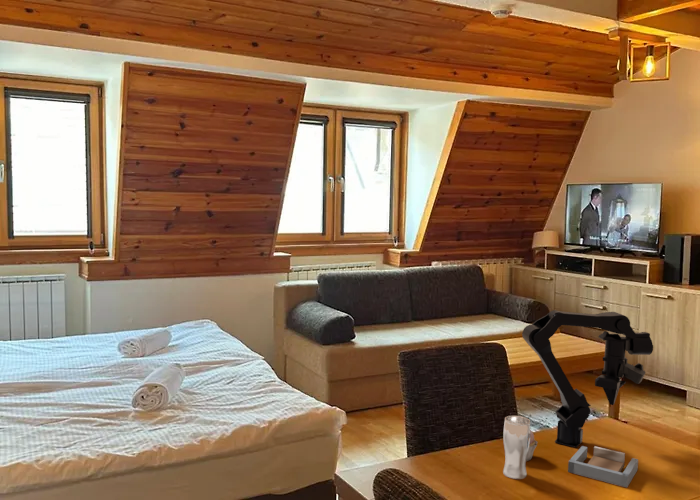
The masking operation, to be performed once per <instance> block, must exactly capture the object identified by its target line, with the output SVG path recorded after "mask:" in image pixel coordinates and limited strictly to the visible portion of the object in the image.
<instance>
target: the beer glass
mask: <svg viewBox="0 0 700 500" xmlns="http://www.w3.org/2000/svg"><path fill="white" fill-rule="evenodd" d="M503 424H504V425H503V433H502V434H503V435H502V437H503V440H502V441H503V448H504V456H505V458H504V459H505V461H504V466H503V470H502V473H503V475H504V476H505V477H507V478H510V479H512V480H523V479H525V478H527V476H528V475H527V474H528V473H527V465H526V462H527V461H526V457H527V453H528V449H529V444H530V430H531V420H530V419H529V418H527V417H525V416H520V415H508V416H505V417H504V423H503Z"/></svg>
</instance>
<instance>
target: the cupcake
mask: <svg viewBox="0 0 700 500" xmlns="http://www.w3.org/2000/svg"><path fill="white" fill-rule="evenodd" d="M537 446H538V441H537V440H536V439H535V434H534V433H533V431H532V430H531V429H530V444H529V449H528V453H527V457H526V462H528V461H531V459H532V458H533V455H534V451H535V449H536V447H537Z"/></svg>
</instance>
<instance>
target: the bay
mask: <svg viewBox="0 0 700 500" xmlns="http://www.w3.org/2000/svg"><path fill="white" fill-rule="evenodd" d="M587 458H588V446H584V445H581V446H580V448H579V449H578V450H577V451H576V452H575V453H574V454H573V456H572V457H571V458H570V459H569V460H568V463H567V472H568V473H571V474H575V475H579V476H582V477H586V478H590V479H593V480H597V481H600V482H601V481H602V482H605V483H607V484H612V485H616V486H620V487H623V488H628V487H629V485H630V483H631V482H632V480H633V478H634V476H635V475H636V474H637V471H638V470H639V469H638V467H639V459H638V458H633V457H632V458H631V459H630V461H629V462H628V464H627V466H626V468H624V471H623V472H622V471H621V472H617V471H613V470H609V469H606V468H602V467H598V466H594V465H590V464H587V463H585V462H584V461H585V460H587Z"/></svg>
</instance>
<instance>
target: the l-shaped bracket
mask: <svg viewBox="0 0 700 500" xmlns="http://www.w3.org/2000/svg"><path fill="white" fill-rule="evenodd" d="M625 456H626V453H625V452H621V451H617V450H613V449H608V448H604V447H599V446H596V445H594V447H593V456H592V457H591V458H590V459H589V460H588V461H587V463H586V464H590V465H594V466H598V467H602V468H606V469H609V470H613V471H617V472H621V473H622V470H623V468H624V467H625V458H626V457H625Z"/></svg>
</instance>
